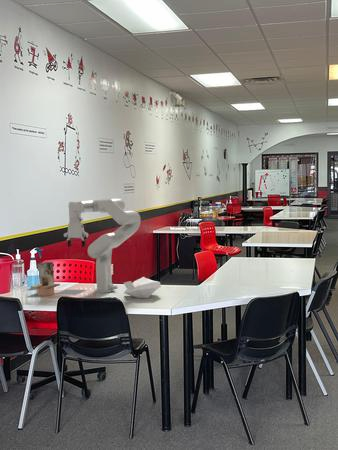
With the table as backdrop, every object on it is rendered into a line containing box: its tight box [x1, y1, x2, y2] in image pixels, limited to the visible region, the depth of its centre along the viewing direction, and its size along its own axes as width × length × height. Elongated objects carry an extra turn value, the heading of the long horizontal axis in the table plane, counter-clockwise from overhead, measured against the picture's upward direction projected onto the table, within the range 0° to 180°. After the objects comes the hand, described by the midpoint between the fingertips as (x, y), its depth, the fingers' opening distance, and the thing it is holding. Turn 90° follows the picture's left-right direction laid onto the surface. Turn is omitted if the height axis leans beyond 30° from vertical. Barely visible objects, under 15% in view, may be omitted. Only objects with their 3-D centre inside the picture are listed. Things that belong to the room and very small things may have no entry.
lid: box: [30, 277, 61, 290], centre depth 363 cm, size 13×13×6 cm
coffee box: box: [36, 261, 55, 284], centre depth 394 cm, size 9×6×16 cm
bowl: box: [36, 287, 55, 297], centre depth 363 cm, size 10×10×5 cm
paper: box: [123, 276, 162, 299], centre depth 346 cm, size 25×24×12 cm
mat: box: [54, 288, 88, 296], centre depth 367 cm, size 15×15×1 cm
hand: (76, 246), depth 378 cm, fingers open, 9 cm apart
